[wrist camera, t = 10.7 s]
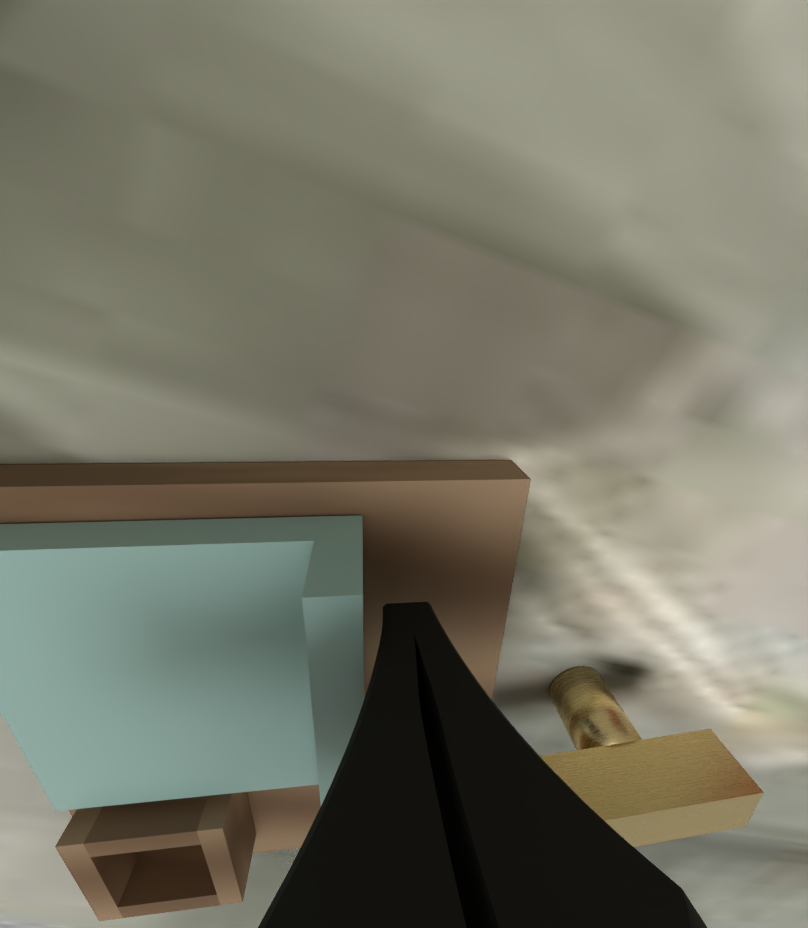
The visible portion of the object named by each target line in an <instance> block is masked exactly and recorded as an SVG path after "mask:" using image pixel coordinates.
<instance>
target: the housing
mask: <svg viewBox="0 0 808 928" xmlns="http://www.w3.org/2000/svg"><path fill="white" fill-rule="evenodd" d="M530 480H531V479H530V478H529V477H528V476H527V475H526V474H525V473H524V472H523V471H522V470H521V469H520V468H519V467H518V466H517V465H516V464H515V463H514V462H513V461H512V460H470V461H357V462H245V463H132V464H19V465H0V524H31V523H72V522H113V521H153V520H194V519H235V518H276V517H316V516H357V515H362V518H363V606H364V693H365V695H366V692H367V689H368V686H369V682H370V679H371V676H372V672H373V669H374V664H375V660H376V656H377V652H378V648H379V643H380V638H381V632H382V623H383V606H385V605H386V604H388V603H409V602H428V603H429V604H431V606H432V608H433V610H434V612H435V614H436V616H437V618H438V620H439V622H440V624H441V625H442V627H443V629H444V631H445V632H446V634H447V636H448V637H449V639H450V641H451V642H452V644H453V645H454V647H455V649H456V650H457V652H458V653H459V655H460V656H461V658H462V659H463V661H464V662H465V664H466V665H467V667H468V668H469V670H470V671H471V673H472V674H473V675H474V677H475V678H476V680H477V681H478V682H479V684H480V685H481V686H482V688H483V689H484V690H485V692H486V693H487V694H488V696H489V697H490V698H491V700H492V696H493V691H494V685H495V679H496V674H497V668H498V662H499V656H500V651H501V645H502V639H503V634H504V628H505V622H506V617H507V611H508V605H509V600H510V594H511V588H512V582H513V577H514V571H515V565H516V560H517V554H518V548H519V543H520V537H521V531H522V526H523V520H524V514H525V508H526V503H527V497H528V491H529V486H530ZM320 807H321V803H320V792H319V785H309V786H299V787H289V788H279V789H270V790H260V791H250V792H240V793H230V794H220V795H210V796H201V797H191V798H181V799H171V800H161V801H151V802H141V803H132V804H122V805H112V806H102V807H92V808H82V809H73V810H69V811H70V813H71V815H72V819H71V820H70V822H69V824H68V826H67V827H66V829H65V831H64V832H63V834H62V836H61V838H60V839H59V841H58V843H57V845H56V846H55V847H56V849H57V851H58V852H59V854H60V856H61V857H62V859H63V861H64V863H65V864H66V866H67V868H68V869H69V871H70V873H71V874H72V876H73V878H74V879H75V881H76V883H77V884H78V886H79V888H80V889H81V891H82V893H83V894H84V896H85V898H86V900H87V901H88V903H89V905H90V906H91V908H92V910H93V911H94V913H95V915H96V916H97V918H98V920H99V921H104V920H111V919H119V918H126V917H134V916H141V915H149V914H156V913H164V912H172V911H179V910H187V909H194V908H202V907H209V906H217V905H224V904H232V903H240V902H243V897H244V892H245V887H246V883H247V878H248V873H249V868H250V863H251V858H252V853H260V852H268V851H276V850H285V849H293V848H301V846H302V844H303V842H304V840H305V838H306V836H307V834H308V832H309V830H310V828H311V826H312V824H313V822H314V820H315V817H316V815H317V813H318V811H319V809H320Z"/></svg>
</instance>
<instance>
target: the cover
mask: <svg viewBox="0 0 808 928" xmlns="http://www.w3.org/2000/svg"><path fill="white" fill-rule="evenodd" d="M364 698H365V693H364V606H363V518H362V515H357V516H316V517H276V518H235V519H194V520H153V521H113V522H72V523H31V524H0V713H1V715H2V716H3V718H4V720H5V722H6V724H7V725H8V727H9V729H10V731H11V733H12V734H13V736H14V738H15V740H16V742H17V743H18V745H19V747H20V749H21V751H22V752H23V754H24V756H25V758H26V759H27V761H28V763H29V765H30V767H31V768H32V770H33V772H34V774H35V776H36V777H37V779H38V781H39V783H40V785H41V786H42V788H43V790H44V792H45V794H46V795H47V797H48V799H49V801H50V803H51V804H52V806H53V808H54V810H55V811H63V810H73V809H82V808H92V807H102V806H112V805H122V804H132V803H141V802H151V801H161V800H171V799H181V798H191V797H201V796H210V795H220V794H230V793H240V792H250V791H260V790H270V789H279V788H289V787H299V786H309V785H319V792H320V803H321V805H322V803H323V801H324V799H325V797H326V794H327V792H328V790H329V788H330V786H331V783H332V781H333V779H334V776H335V774H336V772H337V769H338V767H339V765H340V762H341V760H342V758H343V755H344V753H345V750H346V748H347V745H348V743H349V740H350V738H351V735H352V732H353V730H354V727H355V725H356V722H357V719H358V716H359V713H360V711H361V708H362V705H363V702H364Z"/></svg>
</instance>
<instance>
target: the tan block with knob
mask: <svg viewBox="0 0 808 928" xmlns="http://www.w3.org/2000/svg"><path fill="white" fill-rule="evenodd" d="M549 694H550V697H551V699H552V701H553V703H554V705H555V707H556V709H557V711H558V713H559V715H560V717H561V719H562V722H563V724H564V726H565V728H566V730H567V732H568V734H569V736H570V738H571V740H572V742H573V744H574V746H575V748H576V751H569V752H563V753H557V754H551V755H545V756H540V757H541V758H542V760H543V761H544V762H545V763H546V764H547V765H548V766H549V767H550V768H551V769H552V770H553V771H554V772H555V773H556V774H557V775H558V776H559V777H560V778H561V779H562V780H563V781H564V782H565V783H566V784H567V785H568V786H569V787H570V788H571V789H572V790H573V791H574V792H575V793H576V794H577V795H578V796H579V797H580V798H581V799H582V800H583V801H584V802H585V803H586V804H587V805H588V806H589V807H590V808H591V809H592V810H593V811H595V812H596V813H597V814H598V815H599V816H600V817H601V818H602V819H603V820H604V821H605V822H606V823H607V824H608V825H610V826H611V827H612V828H613V829H614V830H615V831H616V832H617V833H618V834H619V835H620V836H622V837H623V838H624V839H625V840H626V841H627V842H628V843H629V844H631V845H632V846H633V847H636V846H641V845H647V844H652V843H657V842H663V841H668V840H674V839H679V838H685V837H690V836H696V835H701V834H707V833H712V832H718V831H723V830H729V829H734V828H740V827H745V826H746V825H747V823H748V821H749V819H750V818H751V816H752V814H753V812H754V810H755V808H756V806H757V804H758V802H759V801H760V799H761V797H762V795H763V793H764V792H763V791H762V790H761V789H760V788H759V786H758V785H757V784H756V783H755V782H754V780H753V779H752V778H751V777H750V776H749V774H748V773H747V772H746V771H745V770H744V768H743V767H742V766H741V765H740V764H739V763H738V761H737V760H736V759H735V758H734V757H733V755H732V754H731V753H730V752H729V751H728V749H727V748H726V747H725V746H724V745H723V743H722V742H721V741H720V740H719V739H718V737H717V736H716V735H715V734H714V733H713V731H712V730H711V729H706V730H699V731H693V732H687V733H681V734H675V735H668V736H662V737H656V738H650V739H644V740H642V739H641V737H640V736H639V734H638V733H637V731H636V730H635V728H634V727H633V725H632V724H631V722H630V721H629V719H628V718H627V716H626V714H625V713H624V711H623V710H622V708H621V707H620V705H619V704H618V702H617V701H616V699H615V698H614V696H613V695H612V693H611V692H610V690H609V688H608V687H607V685H606V684H605V682H604V681H603V679H602V678H601V676H600V675H599V673H598V672H597V671H596V670H594V669H592V668H589V667H576V668H572V669H569V670H567V671H565V672H563V673H561V674H560V675H559V676H557V677H556V678H555V679H554V681H553V682H552V683H551V685H550V688H549Z"/></svg>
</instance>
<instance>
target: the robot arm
mask: <svg viewBox="0 0 808 928" xmlns="http://www.w3.org/2000/svg"><path fill="white" fill-rule="evenodd" d="M258 928H707V927H706V925H705V923H704V922H703V920H702V919H701V917H700V916H699V914H698V913H697V911H696V910H695V908H694V907H693V905H692V904H691V902H690V900H689V899H688V897H687V896H686V894H685V893H684V891H683V890H682V888H681V887H679V886H678V885H677V884H676V883H675V882H673V881H672V880H671V879H670V878H669V877H668V876H666V875H665V874H664V873H663V872H662V871H661V870H659V869H658V868H657V867H656V866H655V865H653V864H652V863H651V862H650V861H649V860H648V859H646V858H645V857H644V856H643V855H642V854H641V853H640V852H638V851H637V850H636V849H635V848H634V847H633V846H632V845H631V844H629V843H628V842H627V841H626V840H625V839H624V838H623V837H622V836H620V835H619V834H618V833H617V832H616V831H615V830H614V829H613V828H612V827H611V826H610V825H608V824H607V823H606V822H605V821H604V820H603V819H602V818H601V817H600V816H599V815H598V814H597V813H596V812H595V811H593V810H592V809H591V808H590V807H589V806H588V805H587V804H586V803H585V802H584V801H583V800H582V799H581V798H580V797H579V796H578V795H577V794H576V793H575V792H574V791H573V790H572V789H571V788H570V787H569V786H568V785H567V784H566V783H565V782H564V781H563V780H562V779H561V778H560V777H559V776H558V775H557V774H556V773H555V772H554V771H553V770H552V769H551V768H550V767H549V766H548V765H547V764H546V763H545V762H544V761H543V760H542V758H541V757H540V756H539V755H538V754H537V753H536V752H535V751H534V750H533V748H532V747H531V746H530V745H529V744H528V743H527V742H526V741H525V740H524V739H523V737H522V736H521V735H520V734H519V733H518V732H517V730H516V729H515V728H514V727H513V726H512V725H511V723H510V722H509V721H508V720H507V719H506V717H505V716H504V715H503V714H502V712H501V711H500V710H499V709H498V707H497V706H496V705H495V704H494V702H493V701H492V700H491V698H490V697H489V696H488V694H487V693H486V692H485V690H484V689H483V688H482V686H481V685H480V684H479V682H478V681H477V680H476V678H475V677H474V675H473V674H472V673H471V671H470V670H469V668H468V667H467V665H466V664H465V662H464V661H463V659H462V658H461V656H460V655H459V653H458V652H457V650H456V649H455V647H454V645H453V644H452V642H451V641H450V639H449V637H448V636H447V634H446V632H445V631H444V629H443V627H442V625H441V624H440V622H439V620H438V618H437V616H436V614H435V612H434V610H433V608H432V606H431V604H429V603H428V602H409V603H388V604H386V605H385V606H383V623H382V632H381V638H380V643H379V648H378V652H377V656H376V660H375V664H374V669H373V672H372V676H371V679H370V682H369V686H368V689H367V692H366V695H365V698H364V702H363V705H362V708H361V711H360V713H359V716H358V719H357V722H356V725H355V727H354V730H353V732H352V735H351V738H350V740H349V743H348V745H347V748H346V750H345V753H344V755H343V758H342V760H341V762H340V765H339V767H338V769H337V772H336V774H335V776H334V779H333V781H332V783H331V786H330V788H329V790H328V792H327V794H326V797H325V799H324V801H323V803H322V805H321V807H320V809H319V811H318V813H317V815H316V817H315V820H314V822H313V824H312V826H311V828H310V830H309V832H308V834H307V836H306V838H305V840H304V842H303V844H302V846H301V848H300V850H299V852H298V854H297V856H296V858H295V860H294V862H293V864H292V866H291V868H290V870H289V872H288V874H287V875H286V877H285V879H284V881H283V883H282V885H281V886H280V888H279V890H278V892H277V894H276V896H275V897H274V899H273V901H272V903H271V905H270V907H269V908H268V910H267V912H266V914H265V916H264V918H263V919H262V921H261V923H260V925H259V927H258Z"/></svg>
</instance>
